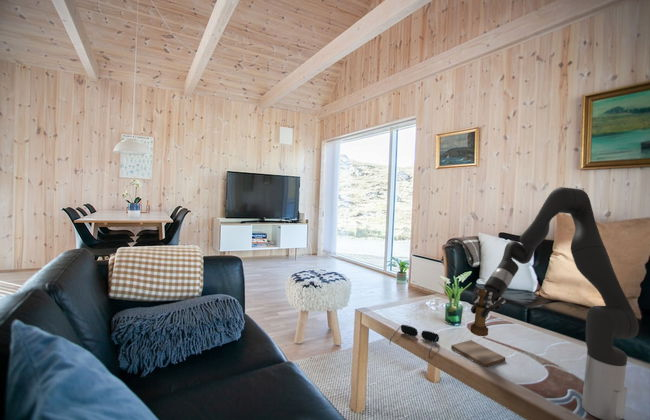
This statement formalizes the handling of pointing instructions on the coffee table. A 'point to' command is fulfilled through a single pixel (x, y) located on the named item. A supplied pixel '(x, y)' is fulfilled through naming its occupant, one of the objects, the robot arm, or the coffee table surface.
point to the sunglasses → (413, 332)
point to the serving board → (478, 353)
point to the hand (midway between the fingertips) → (477, 314)
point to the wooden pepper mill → (480, 317)
